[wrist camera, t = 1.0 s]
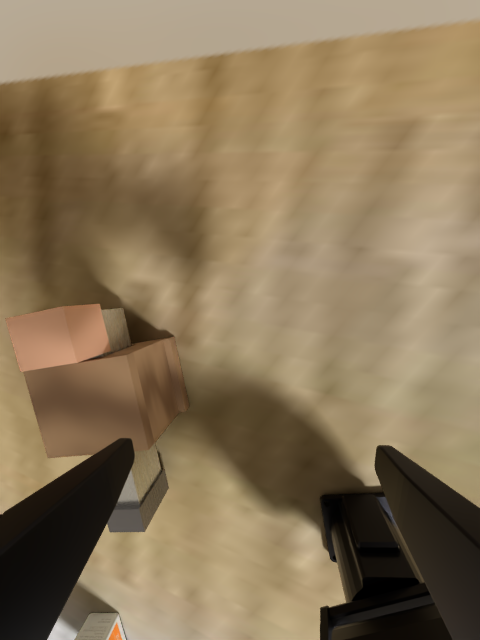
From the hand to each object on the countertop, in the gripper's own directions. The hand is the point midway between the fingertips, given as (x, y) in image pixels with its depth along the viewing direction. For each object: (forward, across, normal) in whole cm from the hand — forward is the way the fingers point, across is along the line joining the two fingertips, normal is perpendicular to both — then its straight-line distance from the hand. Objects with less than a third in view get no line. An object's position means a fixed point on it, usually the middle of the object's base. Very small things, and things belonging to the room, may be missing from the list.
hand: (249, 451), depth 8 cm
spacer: (+9, +13, -2) cm, 16 cm away
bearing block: (+13, +12, +4) cm, 18 cm away
